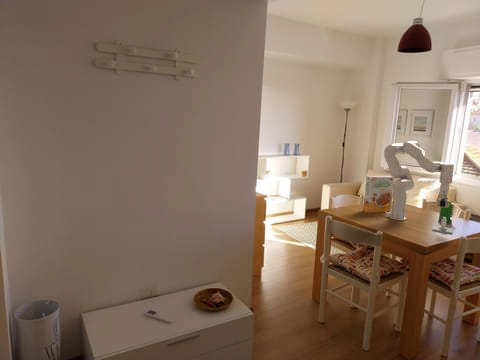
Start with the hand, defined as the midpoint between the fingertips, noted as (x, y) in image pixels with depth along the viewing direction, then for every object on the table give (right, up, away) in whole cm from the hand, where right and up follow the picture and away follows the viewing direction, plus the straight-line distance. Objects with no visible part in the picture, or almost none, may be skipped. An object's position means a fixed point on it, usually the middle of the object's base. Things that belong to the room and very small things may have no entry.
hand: (442, 205), depth 243 cm
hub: (0, -1, 0) cm, 1 cm away
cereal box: (-26, -9, +52) cm, 59 cm away
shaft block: (+1, -18, +3) cm, 18 cm away
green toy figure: (+16, -15, +24) cm, 33 cm away
